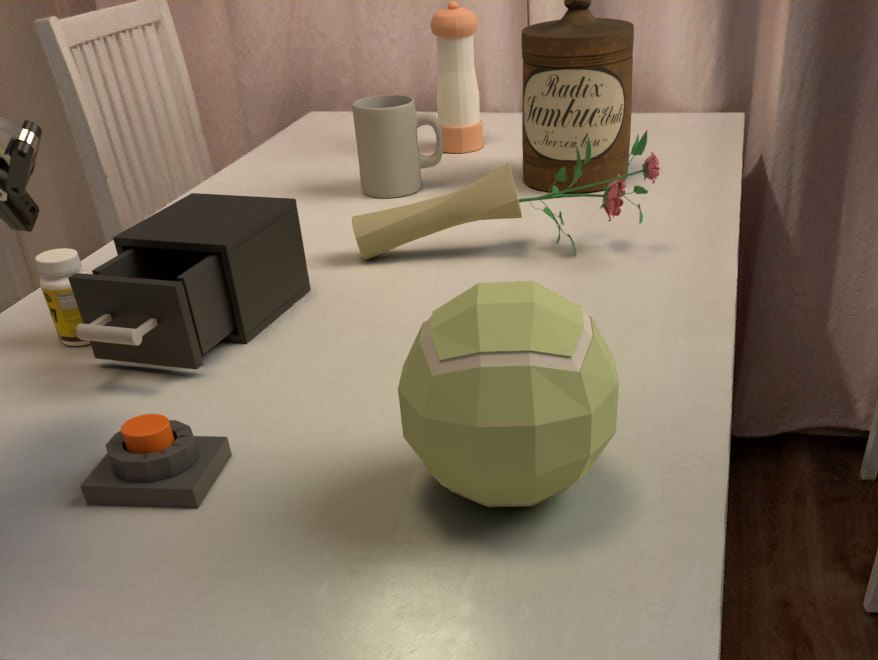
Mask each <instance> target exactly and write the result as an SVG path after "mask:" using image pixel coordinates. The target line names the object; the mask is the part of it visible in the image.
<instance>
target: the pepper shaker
mask: <svg viewBox="0 0 878 660" xmlns="http://www.w3.org/2000/svg"><path fill="white" fill-rule="evenodd" d="M477 17H478V16H476V14H475V12H474V11H472V10H470V9H468V8H466V7H459V3H458V2H457V1H455V0H454V1H450V2H448V3H447V7H445V8H441V9H439V10H438V11H436V12H435V13H434V14H433V15H432V17H431V20H430V26H429V27H430V30H431V33H432V34H433V35H434V36H436V52H437V69H438V71H437V85H436V98H435V100H436V108H437V109H436V111H437V118H438V120H439V122H440V125H441V128H442V133H443V153H448V154H464V153H472V152H476V151H479V150H481V149H483V148H484V129H483V127H484V126H483V121H482V119H481V117H480V116H481V114H480V111H481V110H480V109H481V107H480V104H481V103H480V92H479V91H480V90H479V86H478V80H477V79H478V78H477V75H476V67H475V50H474V49H475V47H474V34H476V32H477V29H478V25H479V22H478V18H477Z"/></svg>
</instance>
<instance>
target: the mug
mask: <svg viewBox="0 0 878 660" xmlns="http://www.w3.org/2000/svg"><path fill="white" fill-rule="evenodd" d="M351 106H352V107H351V108H352V118H353V125H354V133H355V141H356V151H357V158H358V165H359V166H358V167H359V168H358V169H359V177H360V187H361V191H362V193H363V194H364V195H366V196H368V197H371V198H379V199H393V198H402V197H407V196H410V195H412V194H415V192H416V193H417V192H419V191H420V190H421V188H422V171H421V169H422V170H423V169H429V168H433V167H436V166H437V165H438V164H439V163H440V162H441V160H442V158H443V154H444V152H443V133H442V128H441V125H440V122H439V120H438V116H436V115H435V114H434V113H431V112H426V111H417V110H416V102H415V99H414V98H413V97H411V96H409V95H403V94H379V95H372V96H366V97H362V98H359V99H356V100H354V101H353V103H352V105H351ZM422 126H430V127H431V128H433V130H434V133H435V139H436V146H435V151H434V152H433V154H429V155H424V154H423V153H420V147H419V139H418V128H419V127H422Z"/></svg>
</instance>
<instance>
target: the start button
mask: <svg viewBox="0 0 878 660" xmlns="http://www.w3.org/2000/svg"><path fill="white" fill-rule="evenodd" d="M169 420H170V419H169V418H168V417H167V416H166V415H164V414H160V413H144V414H140V415H137V416H134V417H131V418H129V419H128V420H125V422H124V423H123V424H122V425H121V427H120V431H121V433H122V436H123V439H124V441H125V444H126V447H127V450H128V452H130V453H132V454H148V453H152V452H157V451H161V450H163V449H165V448H167V447H169V446H171V445H172V444H173V443H174V436H173V433H172V429H171V426H170V423H169Z"/></svg>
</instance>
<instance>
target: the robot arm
mask: <svg viewBox="0 0 878 660" xmlns="http://www.w3.org/2000/svg"><path fill="white" fill-rule="evenodd" d="M42 134H43V129H42V128H41V126H40V125H39V124H38V123H36V122H34V121H32V120H29V119H25V120H24V121H23V123H22V125H21V126H19V125H17V124H16V123H14V122H12V121H11V120H9V119H7V118H5V117H3V116H1V115H0V220H2V221H3V222H5V224H6V225H7V226H8V227H9V229H11V231H12V230H13V231H18V232H27V233H31V232H33V230H34V227H35V225H36V222H37V219H38V217H39V214H40V208H39V205H38V204H37V203H36V201H34V199H33V198H32V196H31V195H30V194H29V193H28V191H27V186H28V183H29V181H30V179H31V177H32V175H33V173H34V171H35V169H36V168H35V167H36V164H37V159H38V154H39V150H40V144H41V139H42Z"/></svg>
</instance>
